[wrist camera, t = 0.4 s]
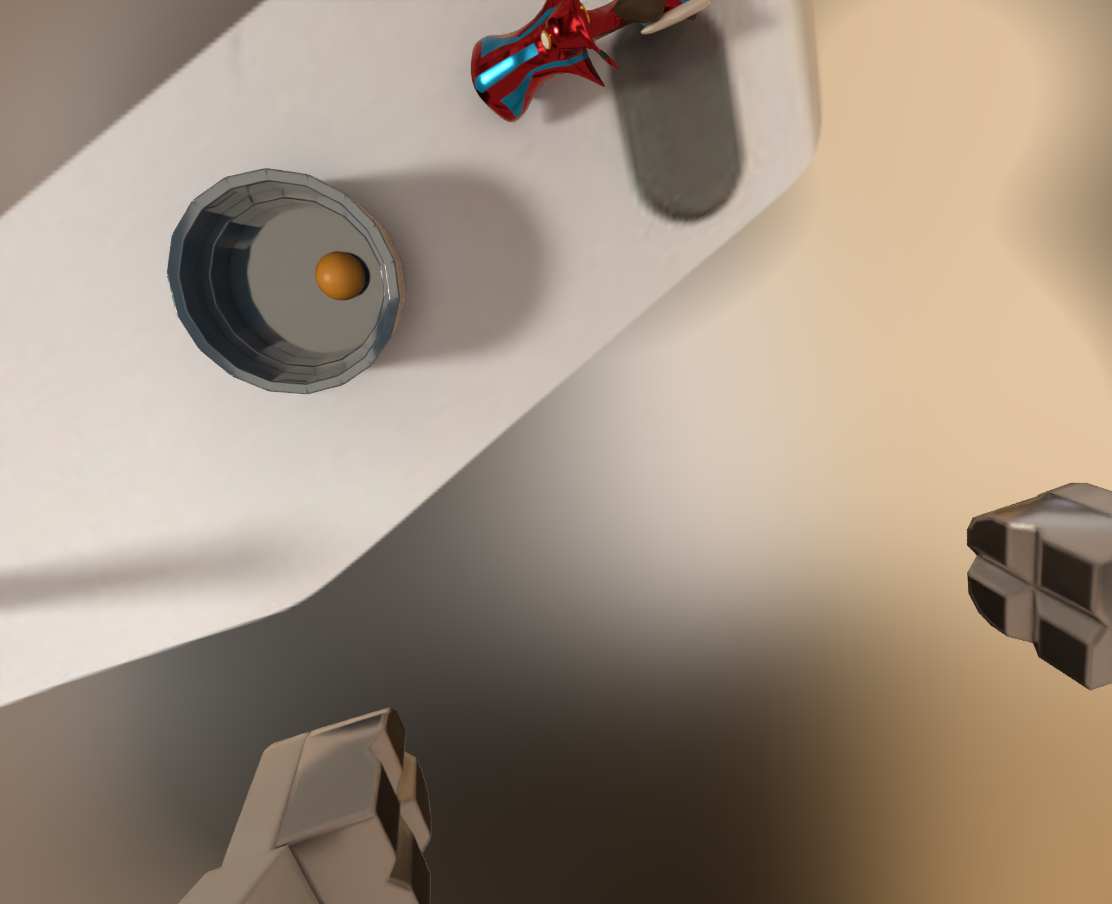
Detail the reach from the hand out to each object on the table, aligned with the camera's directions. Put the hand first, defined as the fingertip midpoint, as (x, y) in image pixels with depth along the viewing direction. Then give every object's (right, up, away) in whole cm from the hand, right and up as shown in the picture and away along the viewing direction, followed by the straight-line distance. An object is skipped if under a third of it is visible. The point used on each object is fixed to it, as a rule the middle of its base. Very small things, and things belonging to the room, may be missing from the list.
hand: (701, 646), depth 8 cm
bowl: (-15, +12, +24) cm, 30 cm away
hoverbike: (-1, +23, +23) cm, 33 cm away
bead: (-13, +12, +22) cm, 28 cm away
